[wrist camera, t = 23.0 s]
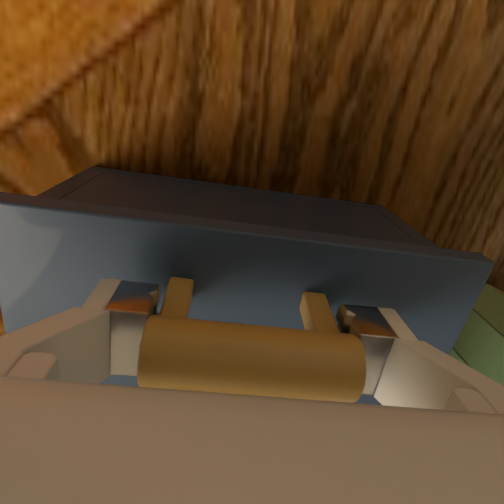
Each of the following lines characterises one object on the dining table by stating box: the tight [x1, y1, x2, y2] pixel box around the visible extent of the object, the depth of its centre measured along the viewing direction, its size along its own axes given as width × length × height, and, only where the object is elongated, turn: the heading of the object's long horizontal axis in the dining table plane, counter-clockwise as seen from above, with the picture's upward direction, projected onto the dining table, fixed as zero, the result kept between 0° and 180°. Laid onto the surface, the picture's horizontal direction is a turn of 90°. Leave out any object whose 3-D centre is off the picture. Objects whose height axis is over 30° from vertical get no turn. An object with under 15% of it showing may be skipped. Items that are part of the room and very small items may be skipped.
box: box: [36, 166, 440, 248], centre depth 18 cm, size 14×15×7 cm
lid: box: [0, 192, 494, 405], centre depth 12 cm, size 14×15×4 cm
